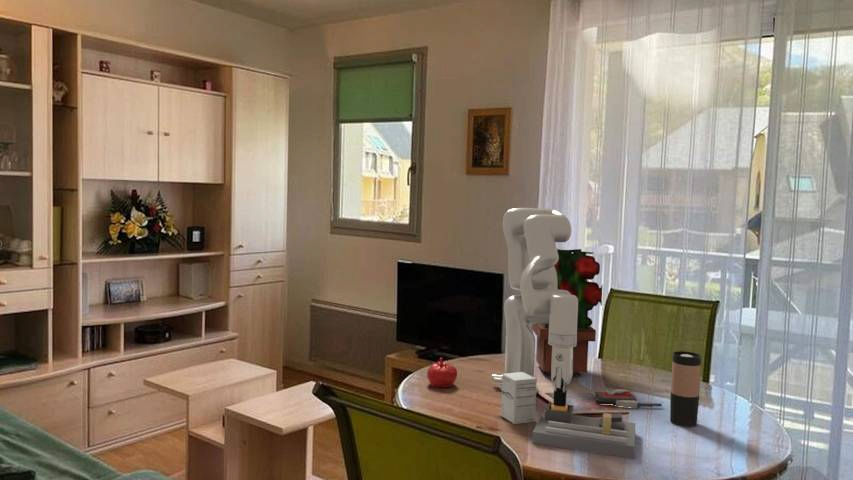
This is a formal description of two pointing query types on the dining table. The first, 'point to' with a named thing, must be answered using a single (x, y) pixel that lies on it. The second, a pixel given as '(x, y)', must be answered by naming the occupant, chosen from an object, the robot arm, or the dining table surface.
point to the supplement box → (518, 397)
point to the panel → (583, 433)
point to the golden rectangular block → (606, 424)
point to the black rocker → (615, 417)
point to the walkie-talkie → (620, 399)
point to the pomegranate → (442, 374)
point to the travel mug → (685, 388)
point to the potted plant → (574, 279)
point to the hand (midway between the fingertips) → (559, 405)
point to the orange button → (559, 407)
